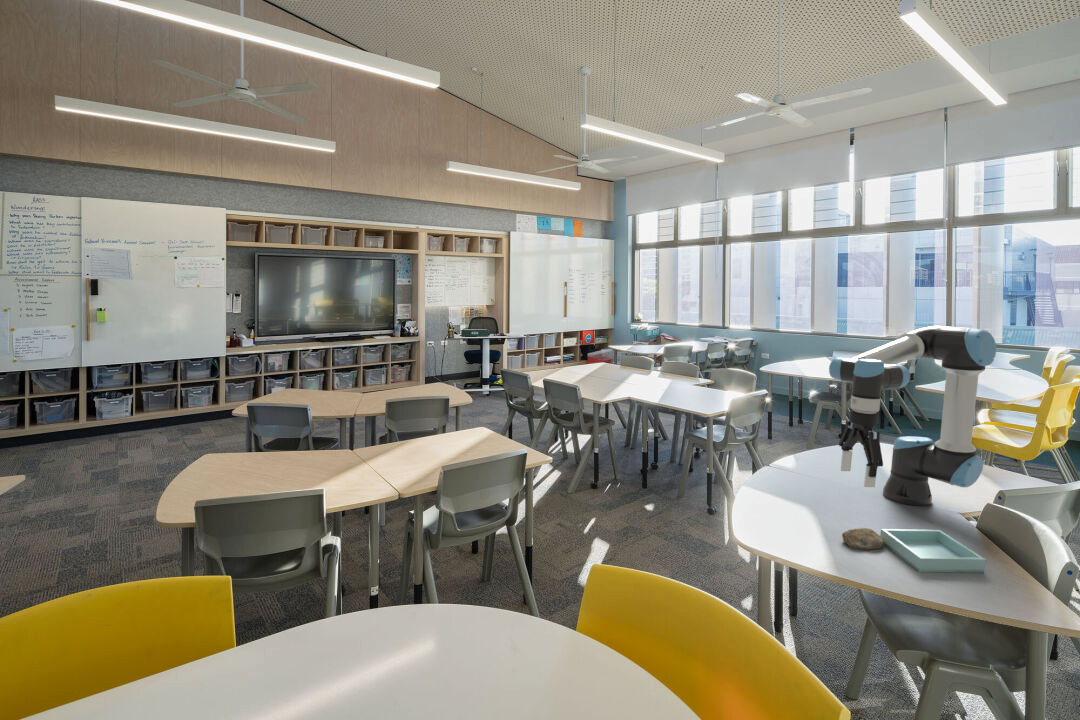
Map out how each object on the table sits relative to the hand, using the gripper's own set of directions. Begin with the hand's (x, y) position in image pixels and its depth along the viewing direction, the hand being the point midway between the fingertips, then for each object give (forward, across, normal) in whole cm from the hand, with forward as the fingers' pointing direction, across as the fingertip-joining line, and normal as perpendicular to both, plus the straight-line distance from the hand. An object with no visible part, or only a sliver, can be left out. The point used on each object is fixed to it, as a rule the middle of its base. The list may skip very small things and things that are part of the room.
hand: (856, 478), depth 168 cm
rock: (+20, +3, +2) cm, 21 cm away
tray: (+20, +9, +18) cm, 28 cm away
